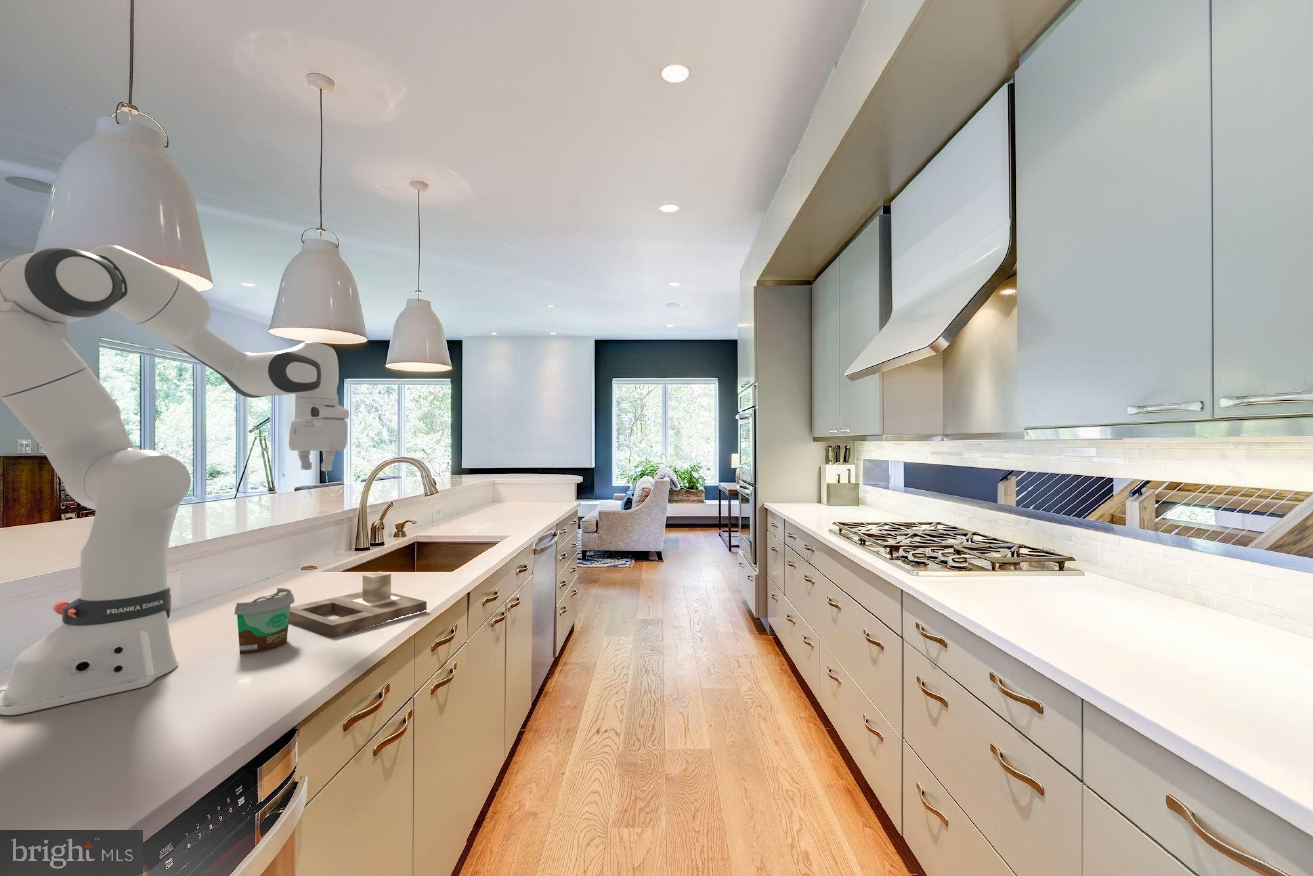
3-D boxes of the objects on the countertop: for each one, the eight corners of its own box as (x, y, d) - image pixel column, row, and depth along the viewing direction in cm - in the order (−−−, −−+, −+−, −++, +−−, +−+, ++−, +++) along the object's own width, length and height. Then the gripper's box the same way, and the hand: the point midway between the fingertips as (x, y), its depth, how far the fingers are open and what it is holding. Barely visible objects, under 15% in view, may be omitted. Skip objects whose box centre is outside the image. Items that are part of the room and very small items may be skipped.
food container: (265, 657, 107) (266, 603, 107) (233, 657, 107) (234, 603, 107) (307, 635, 119) (308, 587, 119) (278, 635, 119) (279, 587, 119)
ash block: (372, 602, 134) (373, 577, 134) (362, 600, 136) (362, 575, 137) (390, 598, 138) (391, 573, 138) (380, 595, 140) (380, 571, 140)
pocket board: (332, 637, 118) (332, 624, 118) (282, 619, 130) (282, 607, 130) (426, 611, 136) (426, 600, 136) (375, 598, 148) (375, 588, 148)
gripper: (281, 412, 138) (280, 469, 137) (324, 409, 126) (324, 471, 126) (309, 414, 143) (308, 469, 143) (353, 411, 132) (352, 470, 131)
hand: (316, 470), depth 134 cm, fingers open, 8 cm apart
